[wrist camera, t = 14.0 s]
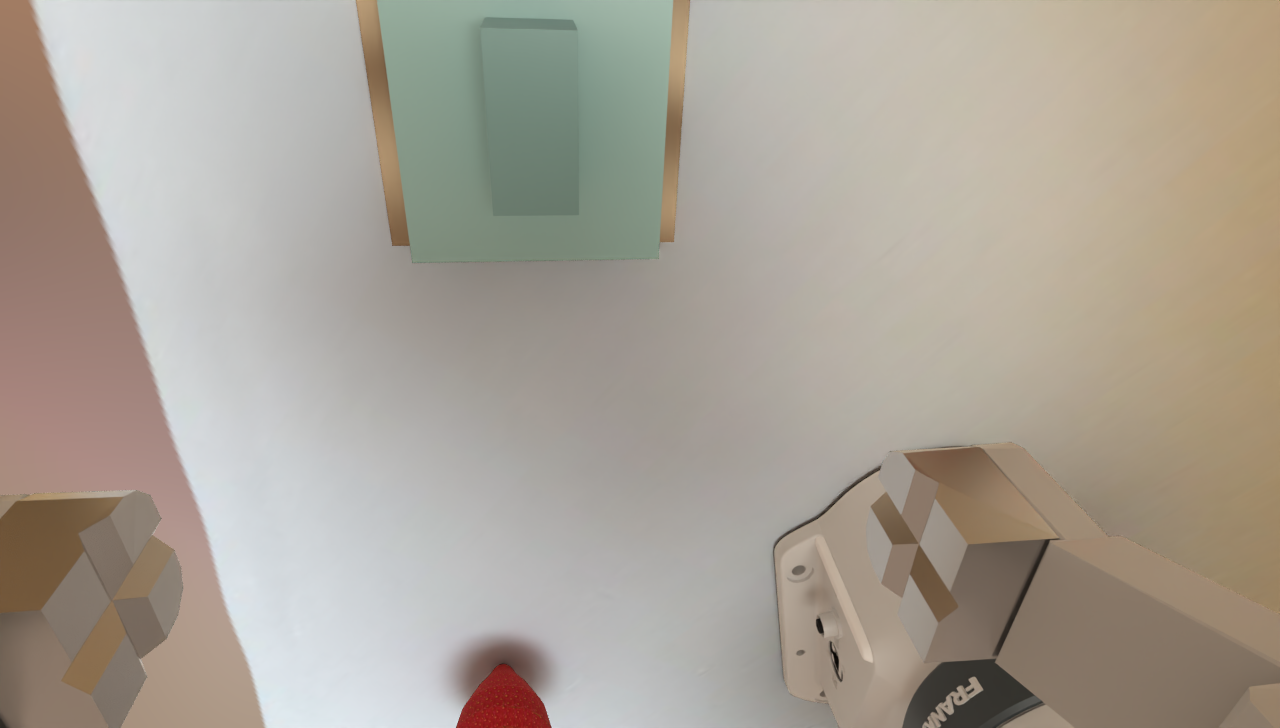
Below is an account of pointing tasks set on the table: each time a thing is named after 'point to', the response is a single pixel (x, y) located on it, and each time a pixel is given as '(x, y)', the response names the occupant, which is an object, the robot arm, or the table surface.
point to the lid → (529, 126)
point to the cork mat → (387, 139)
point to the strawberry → (504, 703)
